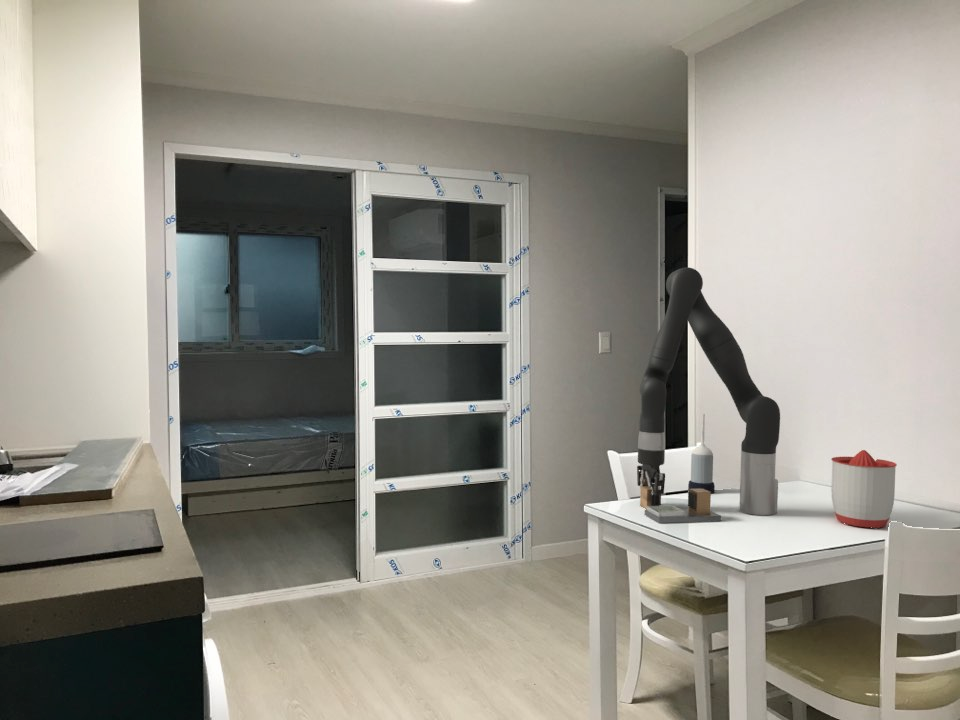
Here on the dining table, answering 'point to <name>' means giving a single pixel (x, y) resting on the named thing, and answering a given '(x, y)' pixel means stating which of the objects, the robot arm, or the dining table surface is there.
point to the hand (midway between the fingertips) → (649, 504)
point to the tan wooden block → (646, 497)
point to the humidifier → (702, 466)
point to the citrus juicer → (863, 490)
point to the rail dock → (686, 510)
